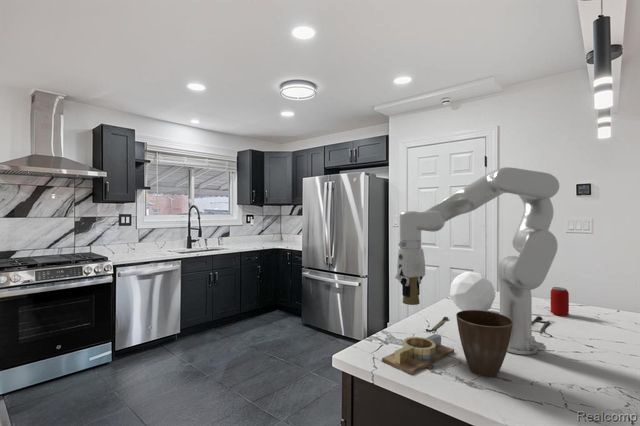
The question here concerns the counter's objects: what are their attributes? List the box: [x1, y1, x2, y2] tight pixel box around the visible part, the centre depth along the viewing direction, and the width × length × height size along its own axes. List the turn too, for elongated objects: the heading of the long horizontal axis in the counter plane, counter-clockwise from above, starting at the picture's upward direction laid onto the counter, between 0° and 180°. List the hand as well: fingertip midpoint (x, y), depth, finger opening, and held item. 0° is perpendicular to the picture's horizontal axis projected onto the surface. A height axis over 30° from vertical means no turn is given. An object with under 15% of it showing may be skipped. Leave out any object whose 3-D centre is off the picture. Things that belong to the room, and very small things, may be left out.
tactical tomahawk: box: [425, 316, 449, 334], centre depth 136 cm, size 21×7×1 cm, turn 140°
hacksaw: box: [532, 315, 556, 338], centre depth 134 cm, size 24×10×2 cm, turn 133°
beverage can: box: [550, 286, 570, 317], centre depth 151 cm, size 7×7×12 cm
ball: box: [449, 271, 496, 311], centre depth 154 cm, size 19×20×20 cm
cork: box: [402, 277, 420, 306], centre depth 119 cm, size 6×6×11 cm
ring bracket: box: [394, 333, 442, 365], centre depth 107 cm, size 23×10×4 cm, turn 129°
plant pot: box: [455, 310, 513, 378], centre depth 97 cm, size 15×15×16 cm
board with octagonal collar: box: [381, 344, 455, 375], centre depth 107 cm, size 24×11×1 cm, turn 129°
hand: (411, 294), depth 119 cm, fingers closed on cork, 4 cm apart
